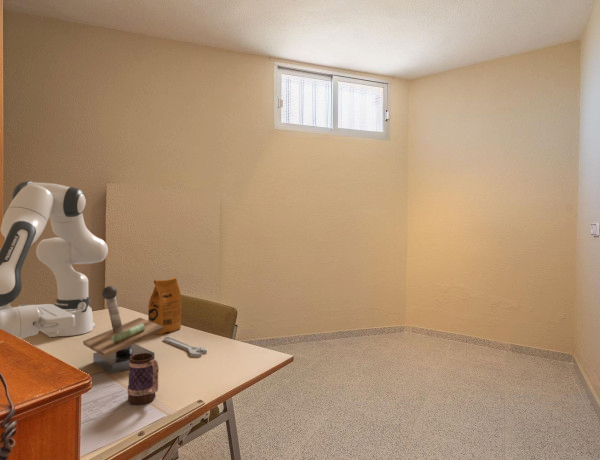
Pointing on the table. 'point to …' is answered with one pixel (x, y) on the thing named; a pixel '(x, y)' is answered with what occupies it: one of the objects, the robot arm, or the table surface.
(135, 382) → the mug
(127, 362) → the stand
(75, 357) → the table surface
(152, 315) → the coffee package
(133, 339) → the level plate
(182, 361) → the table surface
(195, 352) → the adjustable wrench
